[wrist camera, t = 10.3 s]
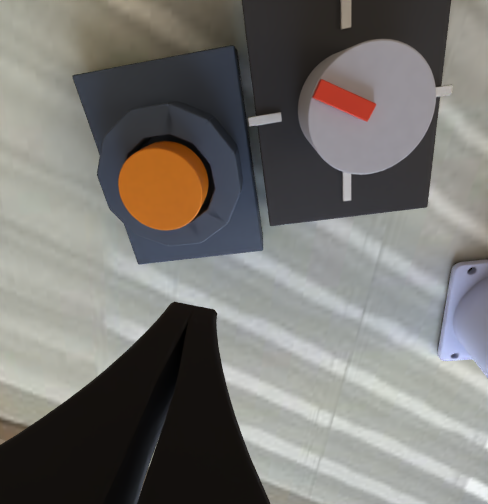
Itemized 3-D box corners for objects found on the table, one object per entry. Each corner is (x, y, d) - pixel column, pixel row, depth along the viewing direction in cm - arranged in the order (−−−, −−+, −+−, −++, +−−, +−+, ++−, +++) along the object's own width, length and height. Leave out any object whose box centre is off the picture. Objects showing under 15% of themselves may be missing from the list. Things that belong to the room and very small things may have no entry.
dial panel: (234, -6, 14) (228, -28, 11) (429, -46, 13) (474, -81, 10) (262, 207, 19) (263, 228, 16) (409, 188, 18) (437, 207, 15)
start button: (122, 147, 14) (105, 154, 13) (199, 135, 14) (191, 141, 12) (145, 220, 16) (133, 235, 15) (215, 211, 16) (210, 225, 14)
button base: (89, 76, 16) (47, 74, 13) (236, 48, 15) (230, 39, 12) (147, 251, 21) (126, 281, 17) (263, 238, 20) (263, 267, 17)
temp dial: (416, 74, 13) (470, 71, 9) (363, 169, 14) (392, 194, 11) (325, 31, 12) (349, 12, 9) (282, 135, 14) (288, 150, 11)
